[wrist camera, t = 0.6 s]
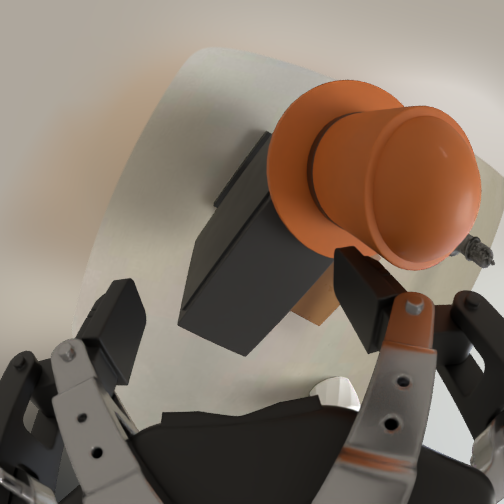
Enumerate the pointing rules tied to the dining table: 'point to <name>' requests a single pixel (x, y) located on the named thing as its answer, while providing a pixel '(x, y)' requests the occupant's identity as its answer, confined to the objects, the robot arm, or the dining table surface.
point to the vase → (337, 393)
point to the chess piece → (475, 251)
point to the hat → (373, 175)
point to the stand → (320, 298)
